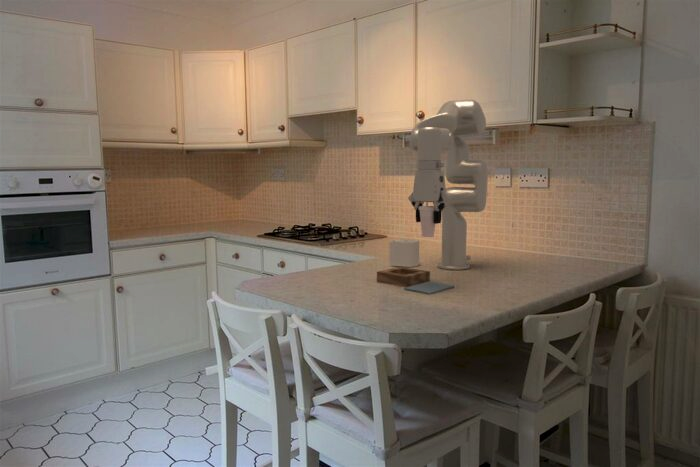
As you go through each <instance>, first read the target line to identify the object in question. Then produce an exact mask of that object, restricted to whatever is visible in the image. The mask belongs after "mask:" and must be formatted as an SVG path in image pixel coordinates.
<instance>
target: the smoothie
mask: <svg viewBox="0 0 700 467" xmlns="http://www.w3.org/2000/svg"><path fill="white" fill-rule="evenodd" d="M419 210H420V220H421V222H420V228H421V237H422V238H434V235H435V230H436V229H435V228H436V224H434V211H435V207H434V205H429V202H425V205H423V206H419Z"/></svg>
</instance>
